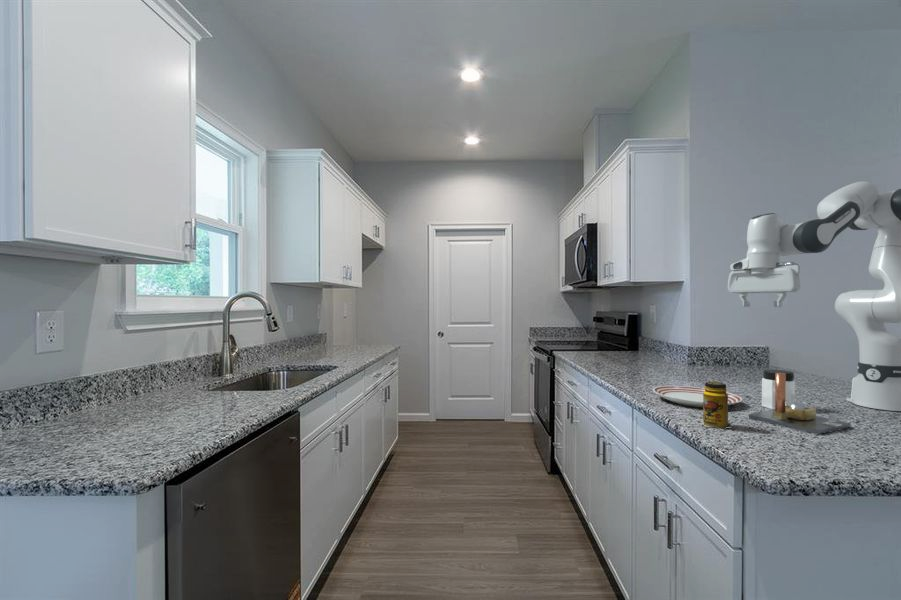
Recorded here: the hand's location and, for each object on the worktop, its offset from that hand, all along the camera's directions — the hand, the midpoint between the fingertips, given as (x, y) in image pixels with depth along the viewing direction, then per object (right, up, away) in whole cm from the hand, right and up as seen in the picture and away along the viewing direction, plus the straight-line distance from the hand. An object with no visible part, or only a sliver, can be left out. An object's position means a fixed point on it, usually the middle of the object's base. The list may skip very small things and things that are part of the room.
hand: (761, 307), depth 144 cm
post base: (+1, -33, -14) cm, 36 cm away
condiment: (-24, -34, -16) cm, 44 cm away
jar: (+8, -34, +4) cm, 35 cm away
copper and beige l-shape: (-1, -32, -14) cm, 35 cm away
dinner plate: (-14, -34, +13) cm, 39 cm away
